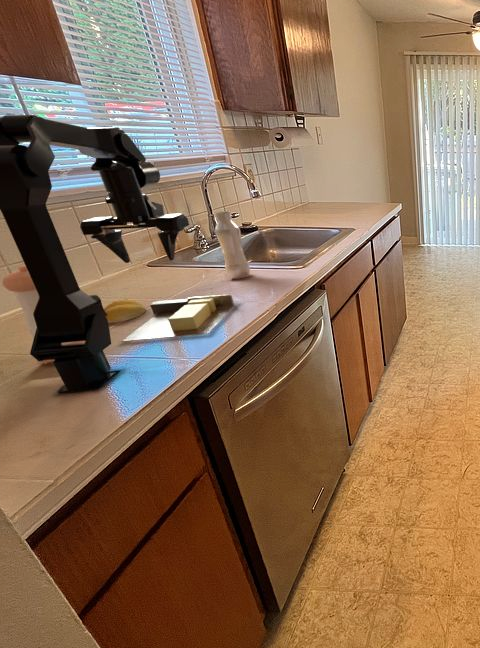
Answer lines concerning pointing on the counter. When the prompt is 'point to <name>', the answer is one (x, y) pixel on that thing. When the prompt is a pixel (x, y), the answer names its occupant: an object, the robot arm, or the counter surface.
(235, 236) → the plastic bottle
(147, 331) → the board
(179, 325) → the butter stick
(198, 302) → the butter slice
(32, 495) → the counter surface
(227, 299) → the knife
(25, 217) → the robot arm
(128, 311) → the bread roll
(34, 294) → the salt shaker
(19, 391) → the counter surface
